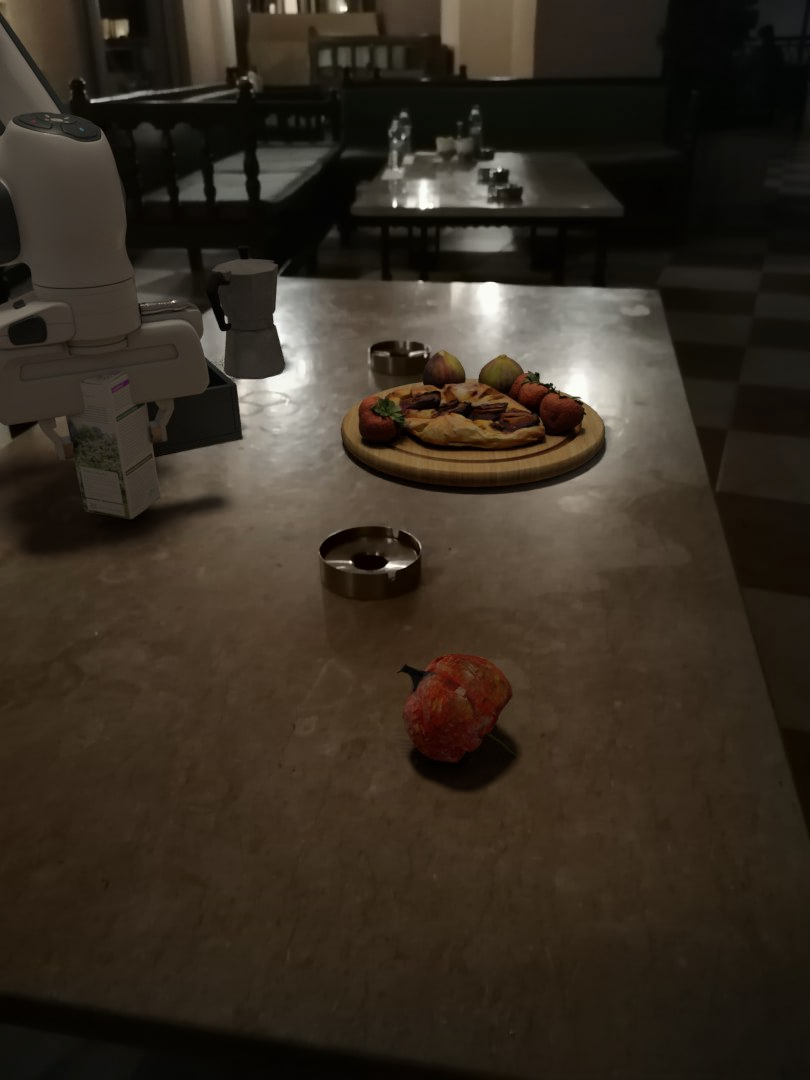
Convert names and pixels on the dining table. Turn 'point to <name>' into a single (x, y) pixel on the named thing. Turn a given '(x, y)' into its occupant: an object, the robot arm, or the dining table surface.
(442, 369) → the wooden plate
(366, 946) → the dining table surface
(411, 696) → the red rounded piece
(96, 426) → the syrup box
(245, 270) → the coffeepot
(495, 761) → the dining table surface
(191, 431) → the open box
